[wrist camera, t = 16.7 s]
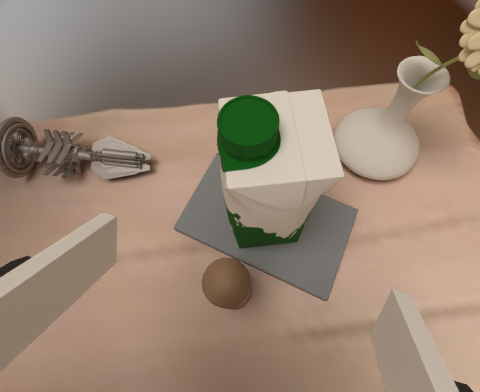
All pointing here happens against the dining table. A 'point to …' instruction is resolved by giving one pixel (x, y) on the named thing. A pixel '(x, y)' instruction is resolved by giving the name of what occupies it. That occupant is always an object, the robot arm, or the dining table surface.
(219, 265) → the wooden pepper mill
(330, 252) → the slate mat
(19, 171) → the spaceship
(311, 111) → the soya milk
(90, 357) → the dining table surface
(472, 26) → the flower in vase
